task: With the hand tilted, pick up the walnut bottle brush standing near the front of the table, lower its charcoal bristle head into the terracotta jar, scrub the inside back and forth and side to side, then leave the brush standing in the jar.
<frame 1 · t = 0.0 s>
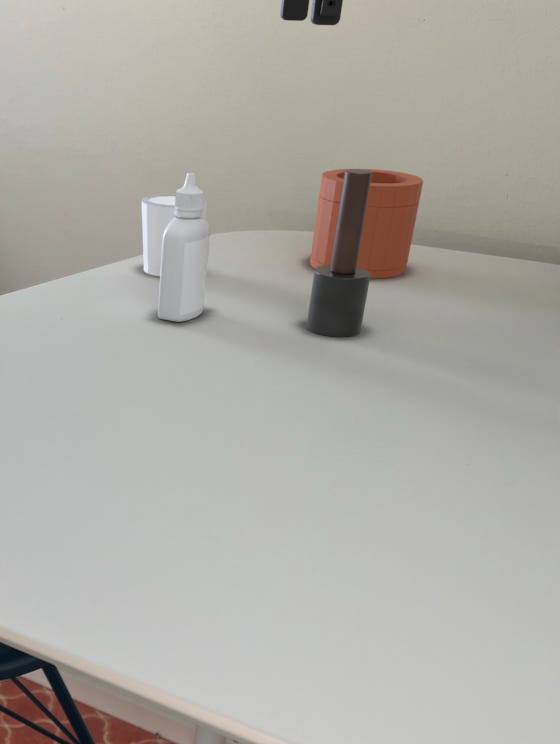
hand: (308, 22, 82), 23 cm above the table, tool pointing down, fingers open, 8 cm apart
eye dropper bottle: (180, 316, 92), on the table
brush: (333, 328, 89), on the table
white cup: (169, 272, 106), on the table
jar: (357, 266, 108), on the table
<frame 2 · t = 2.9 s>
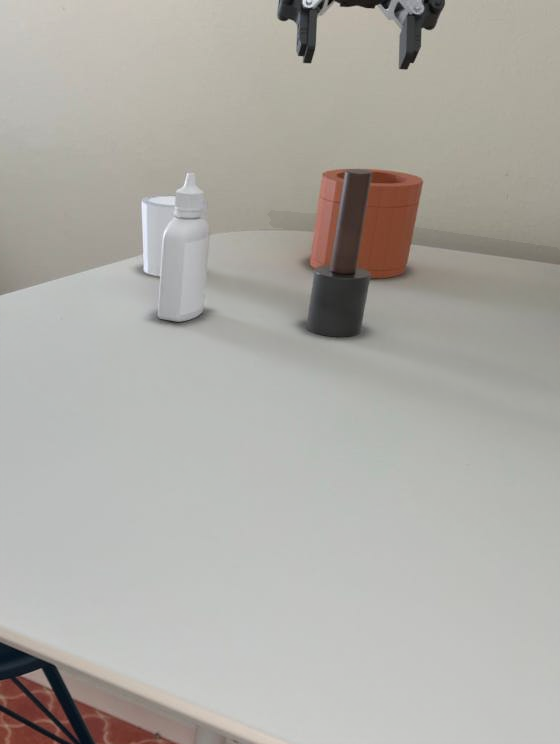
hand: (357, 59, 87), 20 cm above the table, tool tilted 45°, fingers open, 8 cm apart
nothing on the table moved.
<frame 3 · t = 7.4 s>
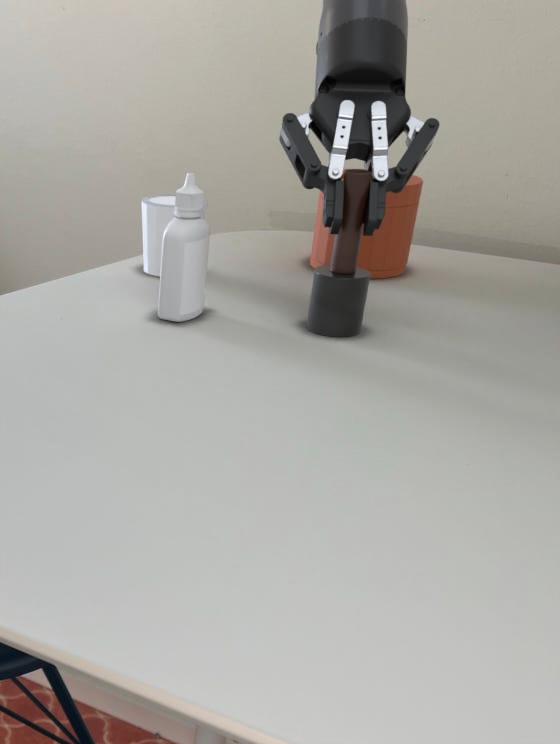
hand: (353, 228, 83), 9 cm above the table, tool tilted 45°, fingers closed on brush
brush: (333, 328, 89), on the table, touching gripper
everything else where it was.
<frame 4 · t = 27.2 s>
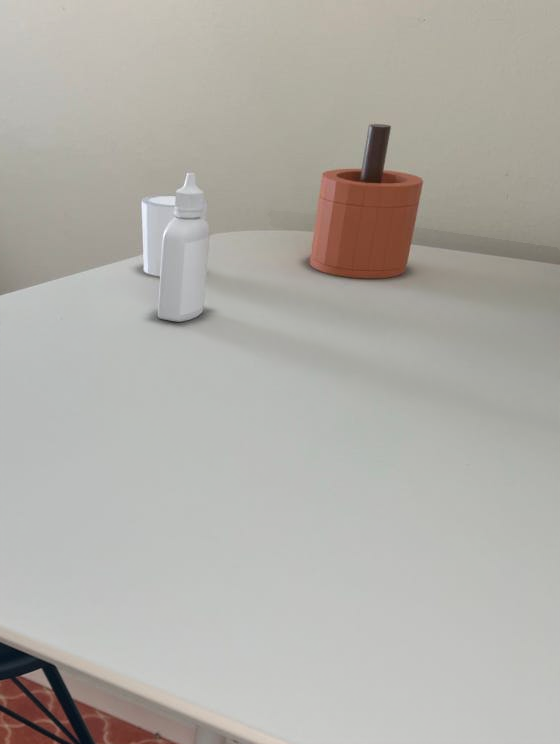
brush: (357, 258, 108), point 1 cm above the table, touching jar
everything else where it was.
at the end: brush 0.1 cm off-centre in the jar, point 0.8 cm above the jar's base; brush tilted 0°; the gripper is holding nothing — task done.
